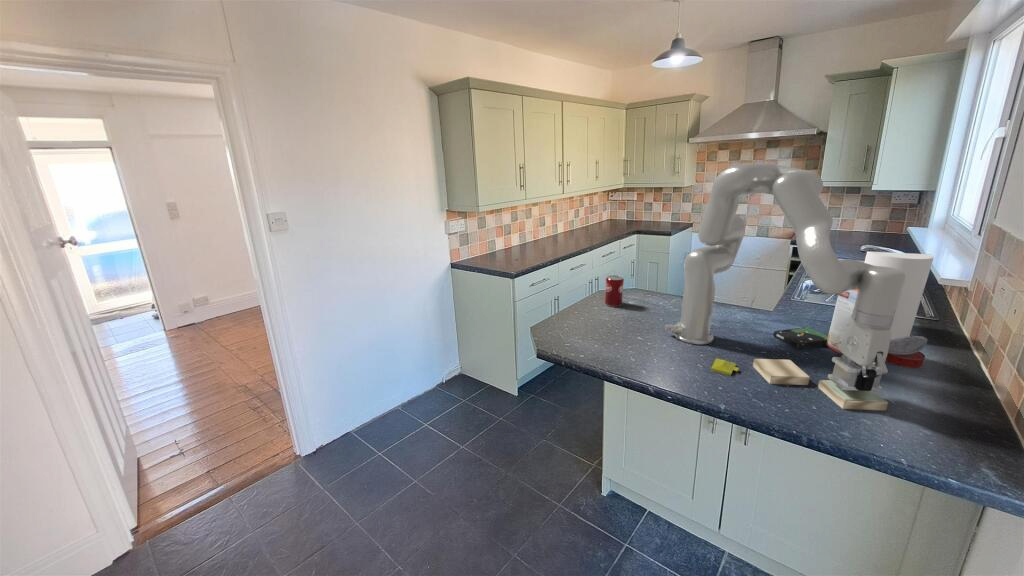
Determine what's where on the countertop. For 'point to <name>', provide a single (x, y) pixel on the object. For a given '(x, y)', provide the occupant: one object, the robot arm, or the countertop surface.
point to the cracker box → (841, 317)
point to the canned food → (907, 351)
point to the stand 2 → (852, 397)
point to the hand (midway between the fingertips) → (854, 382)
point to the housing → (849, 374)
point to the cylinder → (905, 285)
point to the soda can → (614, 291)
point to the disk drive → (802, 337)
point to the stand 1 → (781, 372)
